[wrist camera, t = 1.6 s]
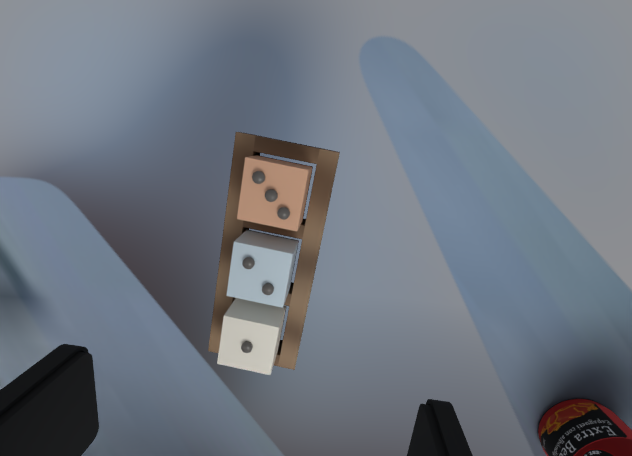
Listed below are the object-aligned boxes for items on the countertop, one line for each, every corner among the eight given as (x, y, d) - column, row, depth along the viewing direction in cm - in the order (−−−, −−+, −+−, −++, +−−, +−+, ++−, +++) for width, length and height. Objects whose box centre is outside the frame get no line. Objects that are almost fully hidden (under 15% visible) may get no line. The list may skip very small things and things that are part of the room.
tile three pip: (302, 220, 28) (296, 232, 24) (249, 209, 28) (235, 219, 24) (312, 166, 27) (308, 170, 23) (257, 155, 27) (244, 157, 23)
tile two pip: (289, 288, 30) (282, 309, 26) (239, 278, 30) (225, 297, 26) (298, 240, 28) (292, 255, 25) (246, 229, 29) (232, 242, 25)
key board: (297, 354, 34) (294, 369, 31) (217, 336, 34) (208, 351, 31) (339, 152, 28) (339, 152, 26) (244, 132, 29) (235, 131, 26)
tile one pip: (278, 349, 31) (269, 377, 28) (231, 339, 31) (215, 365, 28) (286, 306, 30) (278, 329, 26) (237, 295, 30) (222, 317, 26)
